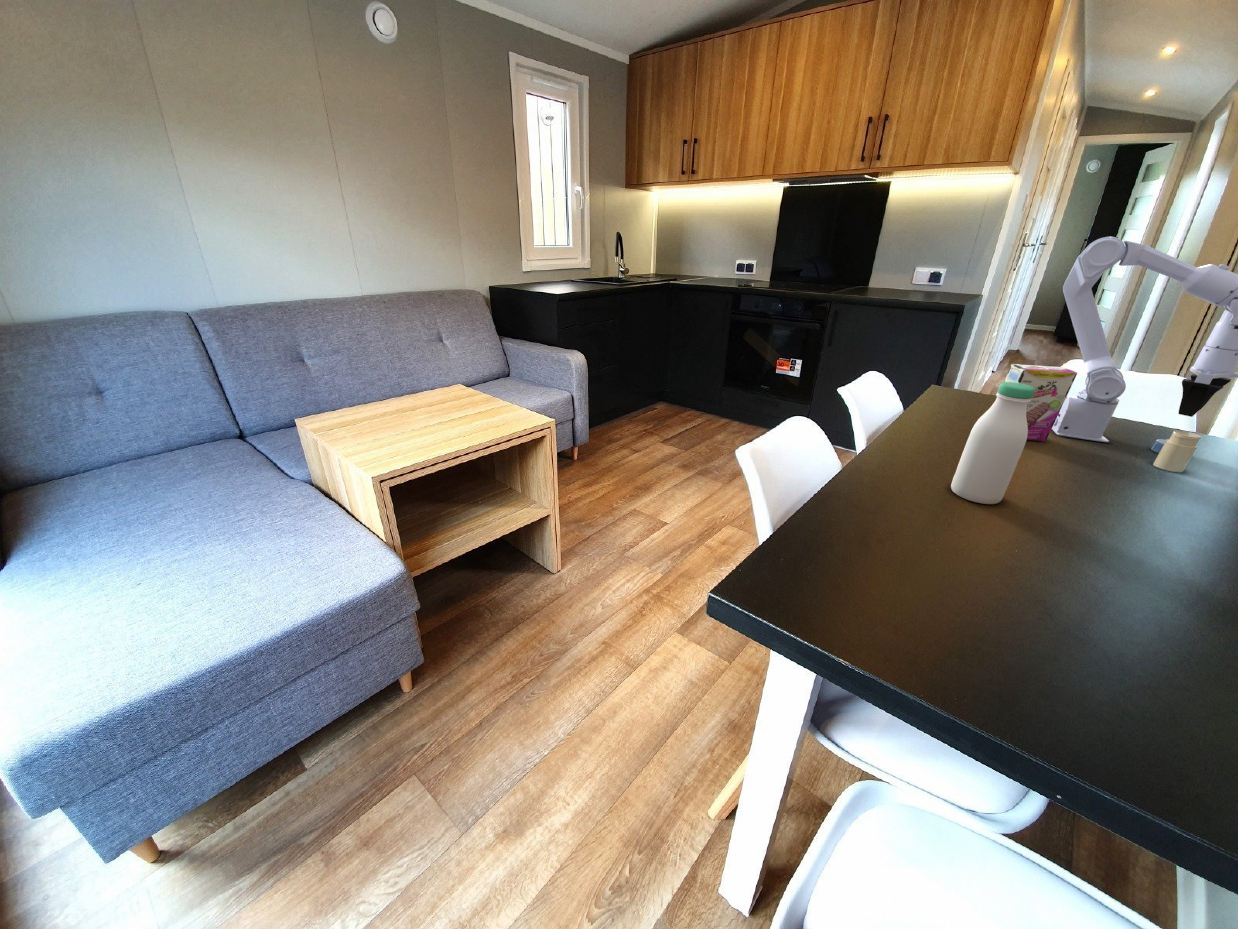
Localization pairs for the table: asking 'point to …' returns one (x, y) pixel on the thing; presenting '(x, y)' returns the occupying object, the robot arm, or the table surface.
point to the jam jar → (1177, 451)
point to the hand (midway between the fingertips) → (1189, 412)
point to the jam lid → (1158, 445)
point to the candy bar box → (1042, 395)
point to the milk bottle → (994, 446)
